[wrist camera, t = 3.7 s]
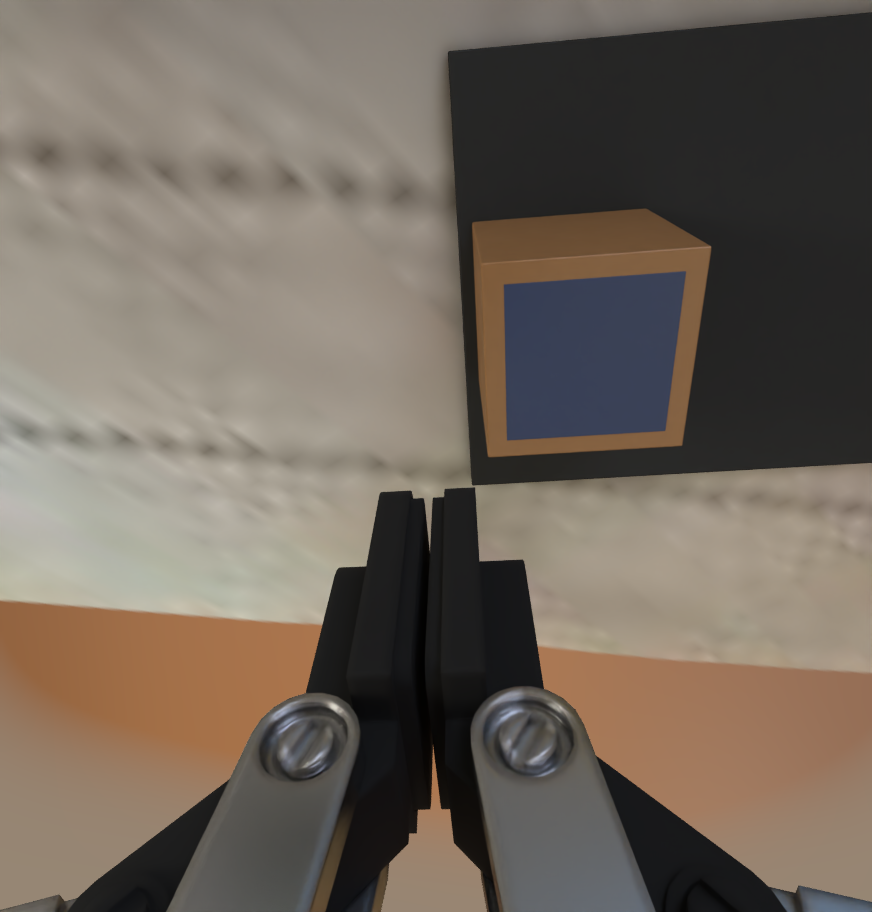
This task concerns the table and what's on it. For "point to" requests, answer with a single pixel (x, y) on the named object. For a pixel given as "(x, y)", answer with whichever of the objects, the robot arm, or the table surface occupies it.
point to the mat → (698, 219)
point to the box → (586, 330)
